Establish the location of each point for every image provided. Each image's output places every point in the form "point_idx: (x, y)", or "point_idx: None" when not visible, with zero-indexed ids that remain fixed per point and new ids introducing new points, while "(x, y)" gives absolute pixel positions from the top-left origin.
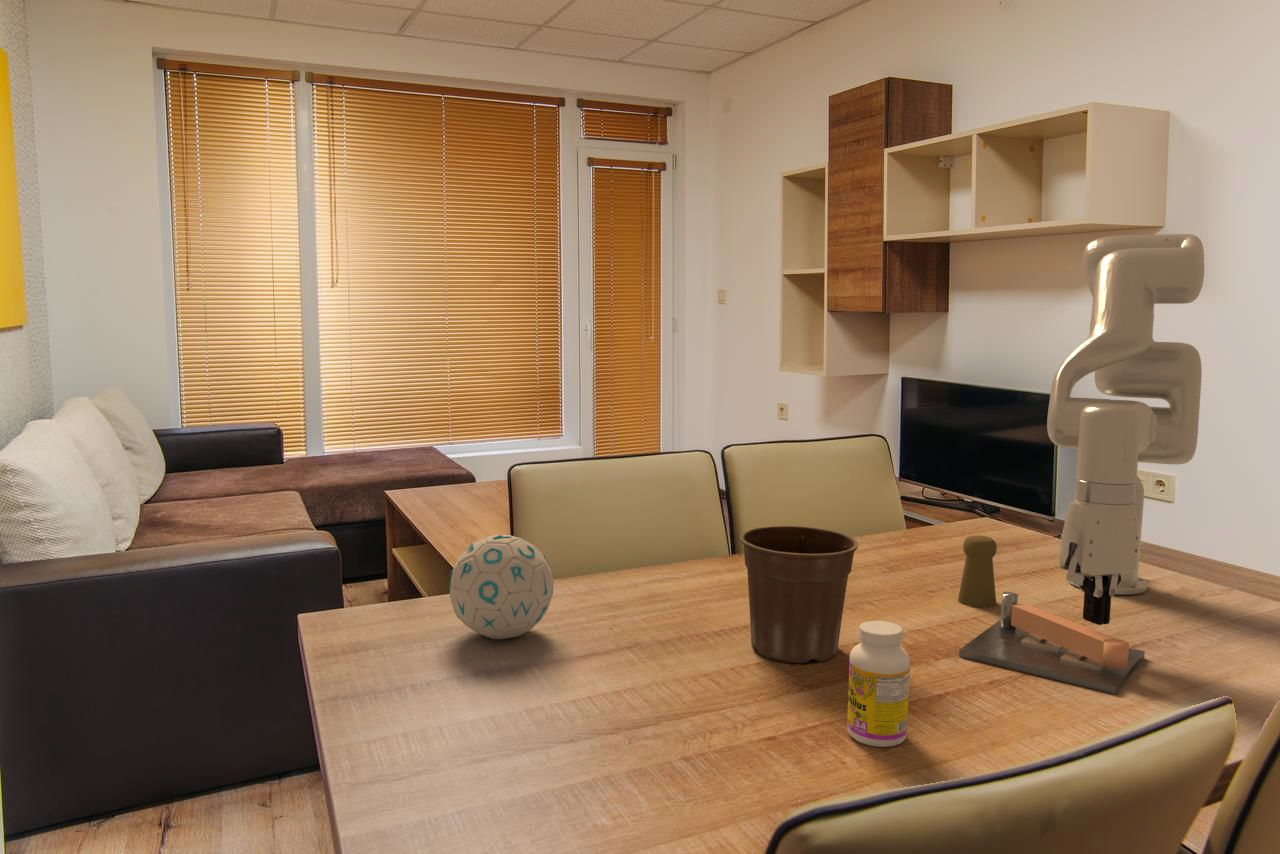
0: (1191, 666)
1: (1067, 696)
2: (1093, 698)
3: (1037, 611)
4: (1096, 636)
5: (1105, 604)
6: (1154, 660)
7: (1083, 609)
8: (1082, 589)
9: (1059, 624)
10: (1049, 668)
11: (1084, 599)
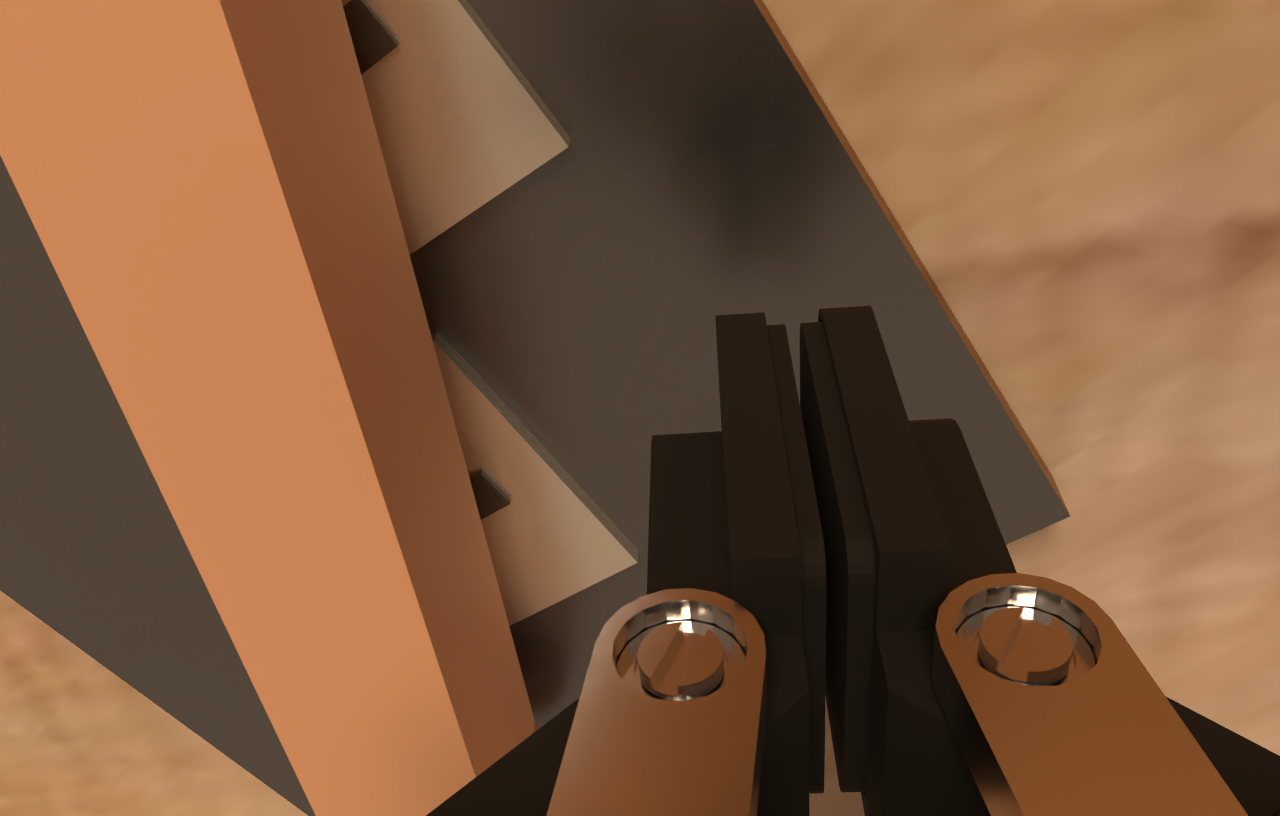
0: (1222, 653)
1: (54, 749)
2: (195, 793)
3: (96, 39)
4: (365, 811)
5: (830, 709)
6: (1088, 520)
7: (721, 372)
8: (563, 715)
9: (178, 515)
10: (38, 575)
11: (730, 470)
